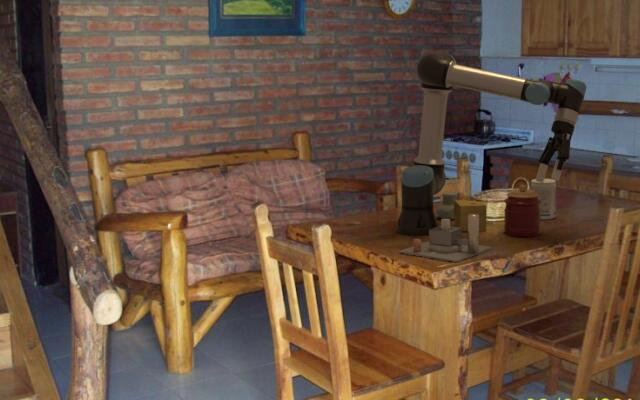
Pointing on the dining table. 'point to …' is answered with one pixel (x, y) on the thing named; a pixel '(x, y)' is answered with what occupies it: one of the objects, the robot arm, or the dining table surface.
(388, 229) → the dining table surface
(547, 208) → the supplement tub
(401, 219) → the robot arm
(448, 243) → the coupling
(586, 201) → the dining table surface
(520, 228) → the canister
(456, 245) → the square plate with uprights
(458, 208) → the olive yellow box
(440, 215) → the air freshener
